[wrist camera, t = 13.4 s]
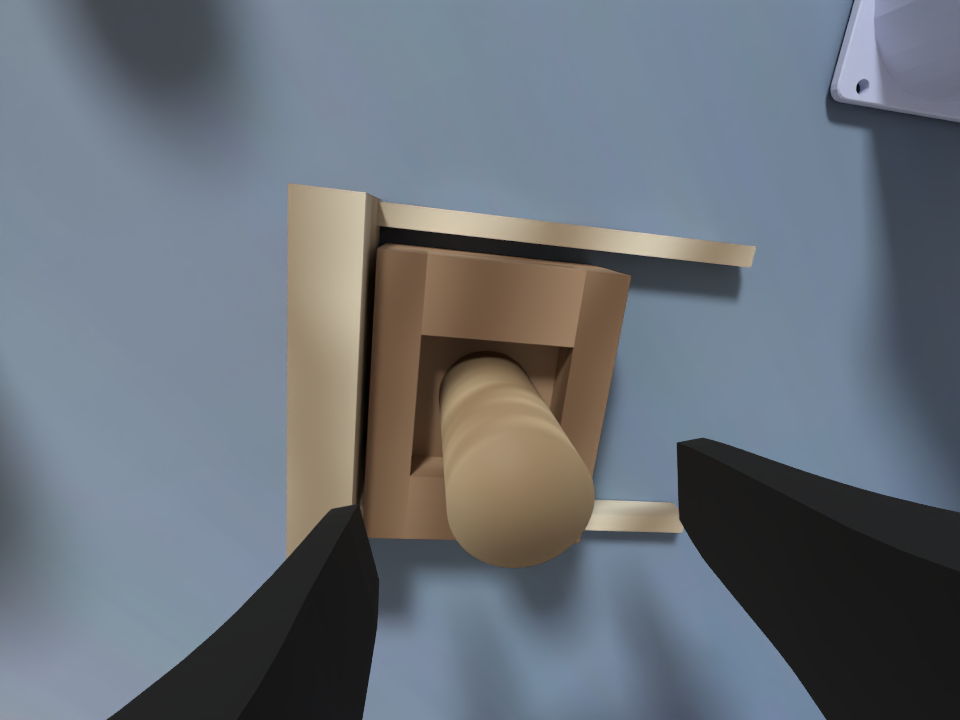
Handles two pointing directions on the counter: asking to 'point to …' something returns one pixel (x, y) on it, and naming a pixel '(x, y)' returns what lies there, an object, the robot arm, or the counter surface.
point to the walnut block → (466, 329)
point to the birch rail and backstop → (349, 329)
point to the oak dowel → (508, 465)
